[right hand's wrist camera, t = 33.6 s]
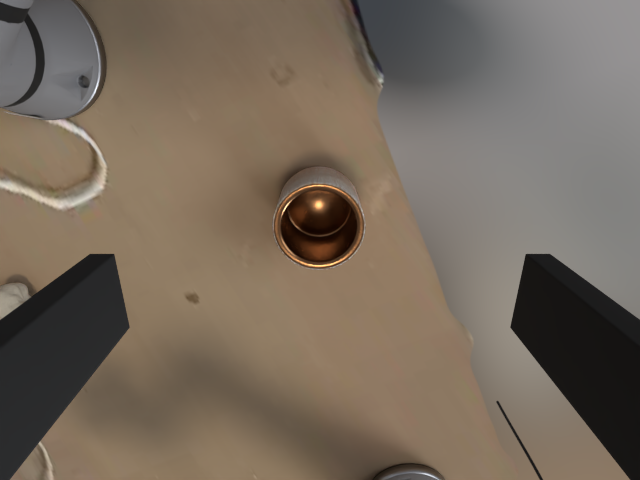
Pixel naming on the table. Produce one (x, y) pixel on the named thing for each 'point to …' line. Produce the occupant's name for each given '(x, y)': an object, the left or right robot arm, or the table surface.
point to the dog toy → (12, 297)
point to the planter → (318, 219)
